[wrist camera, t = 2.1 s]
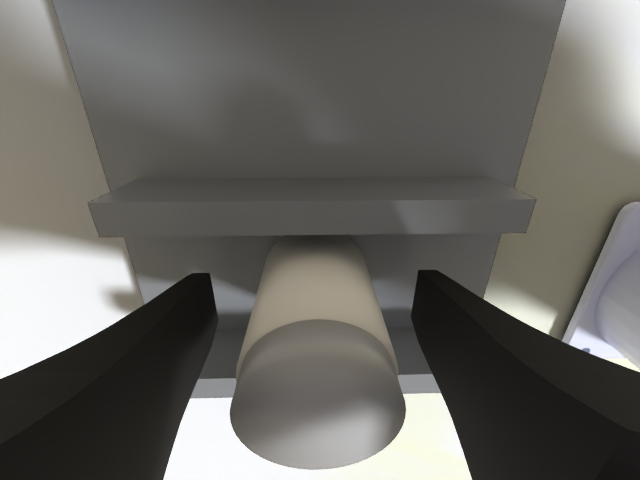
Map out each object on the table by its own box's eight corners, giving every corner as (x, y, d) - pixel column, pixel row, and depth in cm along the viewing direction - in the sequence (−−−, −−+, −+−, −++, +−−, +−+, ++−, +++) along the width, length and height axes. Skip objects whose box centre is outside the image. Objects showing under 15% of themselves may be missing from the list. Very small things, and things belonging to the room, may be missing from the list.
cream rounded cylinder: (369, 225, 11) (423, 348, 6) (362, 313, 13) (399, 469, 8) (260, 227, 11) (212, 352, 6) (268, 314, 13) (236, 473, 7)
